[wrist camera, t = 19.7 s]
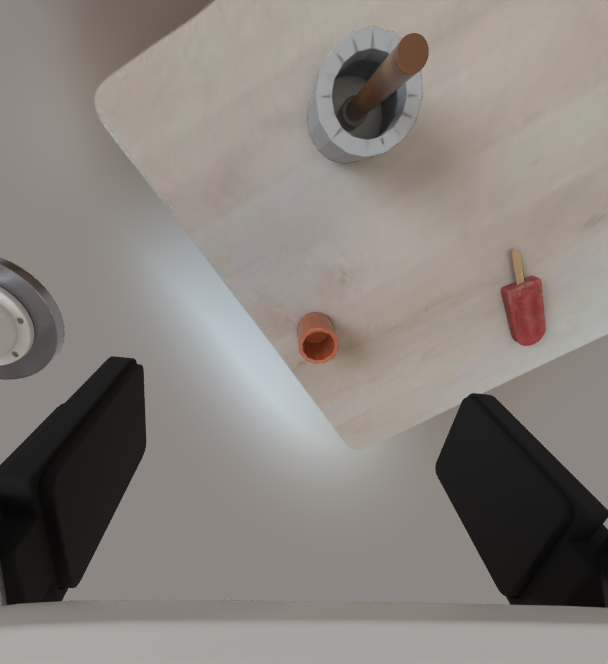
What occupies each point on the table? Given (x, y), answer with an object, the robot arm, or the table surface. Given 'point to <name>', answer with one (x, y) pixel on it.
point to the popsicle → (524, 305)
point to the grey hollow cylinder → (346, 80)
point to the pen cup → (317, 338)
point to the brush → (385, 80)
